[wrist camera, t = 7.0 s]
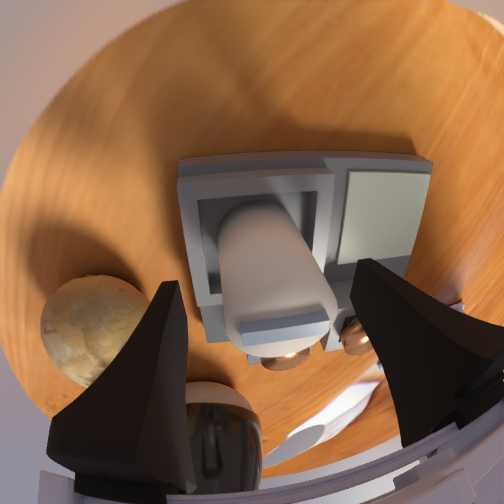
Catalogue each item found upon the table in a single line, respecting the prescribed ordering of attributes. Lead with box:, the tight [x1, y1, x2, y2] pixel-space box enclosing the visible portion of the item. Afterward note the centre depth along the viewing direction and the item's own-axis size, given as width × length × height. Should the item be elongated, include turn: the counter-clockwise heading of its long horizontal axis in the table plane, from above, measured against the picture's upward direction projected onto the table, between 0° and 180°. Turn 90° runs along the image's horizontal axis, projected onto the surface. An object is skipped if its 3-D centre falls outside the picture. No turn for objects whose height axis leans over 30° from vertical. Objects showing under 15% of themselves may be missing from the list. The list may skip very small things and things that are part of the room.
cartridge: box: [217, 200, 338, 357], centre depth 12 cm, size 4×4×6 cm
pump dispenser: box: [178, 381, 262, 495], centre depth 19 cm, size 10×10×15 cm
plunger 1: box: [260, 347, 310, 371], centre depth 16 cm, size 3×3×3 cm
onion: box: [40, 274, 151, 388], centre depth 15 cm, size 8×8×7 cm
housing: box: [176, 150, 433, 365], centre depth 16 cm, size 14×12×4 cm
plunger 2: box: [340, 315, 373, 355], centre depth 17 cm, size 3×3×3 cm
